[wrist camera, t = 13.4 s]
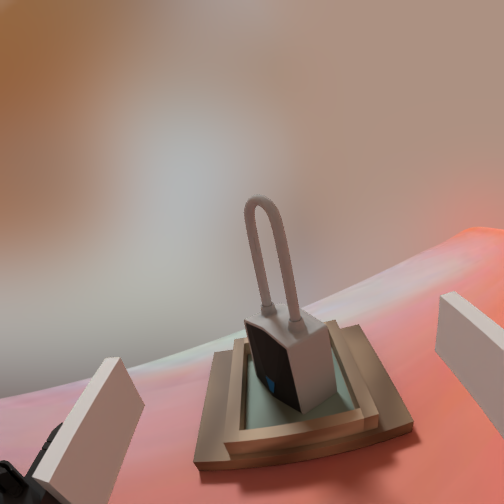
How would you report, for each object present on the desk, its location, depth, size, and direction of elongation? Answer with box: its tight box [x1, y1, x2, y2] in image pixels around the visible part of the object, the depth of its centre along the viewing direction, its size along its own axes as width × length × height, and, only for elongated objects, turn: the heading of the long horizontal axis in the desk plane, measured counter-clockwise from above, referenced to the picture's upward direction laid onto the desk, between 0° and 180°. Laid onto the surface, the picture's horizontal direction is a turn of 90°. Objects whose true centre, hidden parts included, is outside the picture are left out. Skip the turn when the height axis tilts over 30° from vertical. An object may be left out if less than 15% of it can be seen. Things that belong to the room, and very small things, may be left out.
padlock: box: [244, 194, 337, 415], centre depth 21 cm, size 7×4×15 cm, turn 30°
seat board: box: [193, 320, 414, 470], centre depth 23 cm, size 15×14×3 cm
